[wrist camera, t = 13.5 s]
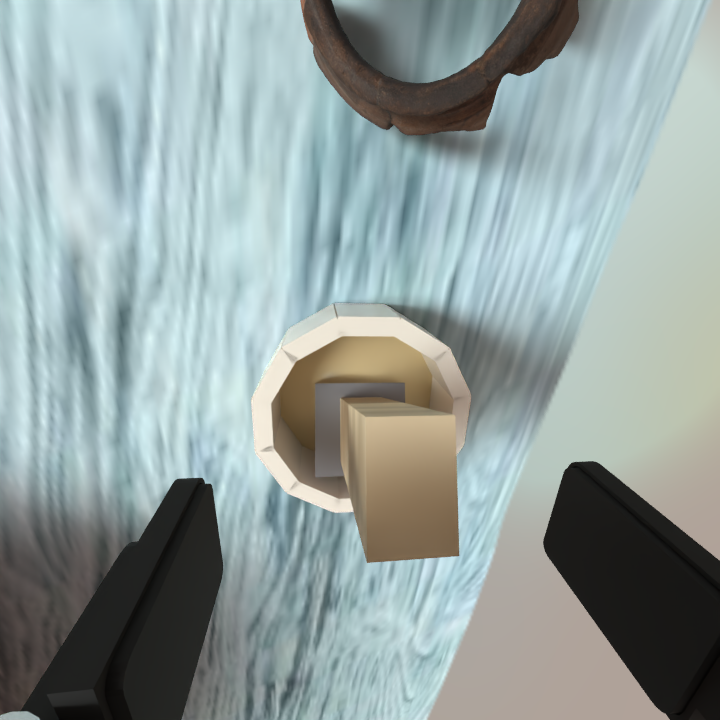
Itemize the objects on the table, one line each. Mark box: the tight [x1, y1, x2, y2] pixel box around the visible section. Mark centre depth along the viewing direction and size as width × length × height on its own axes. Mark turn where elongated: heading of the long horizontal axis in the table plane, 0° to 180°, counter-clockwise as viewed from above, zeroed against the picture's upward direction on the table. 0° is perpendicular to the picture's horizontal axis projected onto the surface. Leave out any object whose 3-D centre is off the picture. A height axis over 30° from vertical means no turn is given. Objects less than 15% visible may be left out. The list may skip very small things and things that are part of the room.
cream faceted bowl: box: [251, 303, 471, 513], centre depth 16 cm, size 10×10×4 cm
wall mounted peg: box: [315, 383, 459, 563], centre depth 12 cm, size 4×4×10 cm
